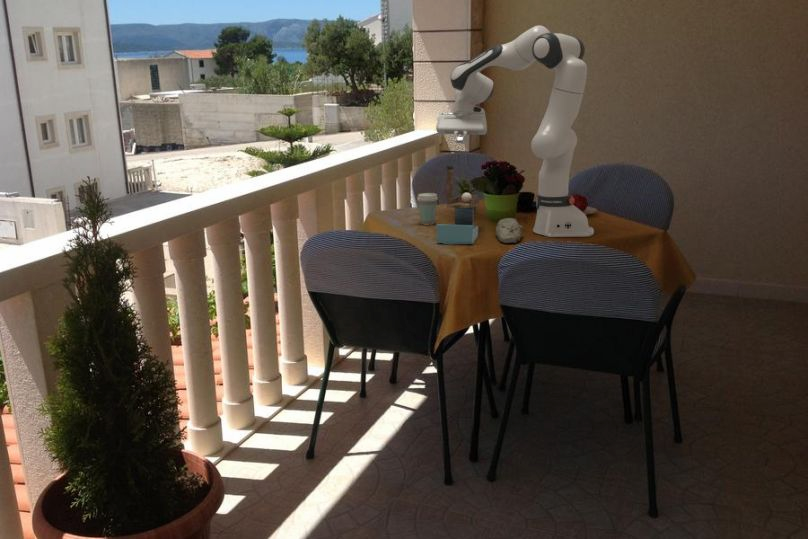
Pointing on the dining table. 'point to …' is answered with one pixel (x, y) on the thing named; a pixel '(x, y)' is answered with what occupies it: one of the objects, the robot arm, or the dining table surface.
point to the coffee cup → (427, 207)
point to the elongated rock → (508, 230)
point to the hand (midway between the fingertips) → (459, 142)
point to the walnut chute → (458, 201)
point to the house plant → (464, 186)
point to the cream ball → (466, 197)
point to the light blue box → (456, 234)
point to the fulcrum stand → (464, 216)
